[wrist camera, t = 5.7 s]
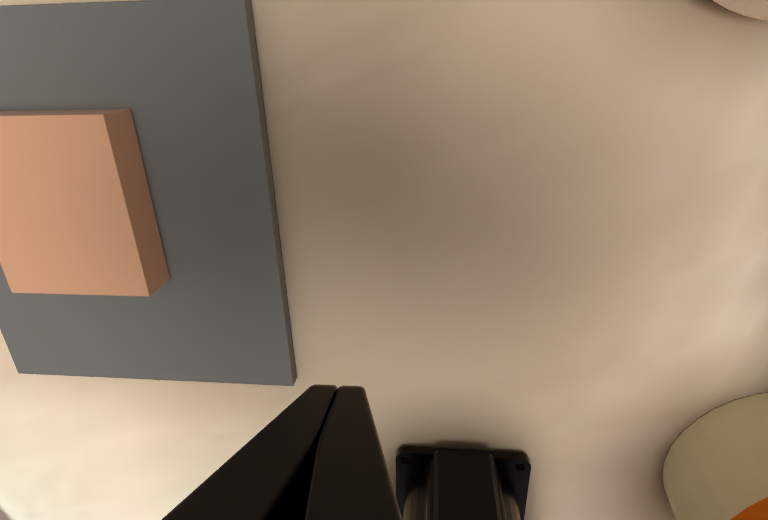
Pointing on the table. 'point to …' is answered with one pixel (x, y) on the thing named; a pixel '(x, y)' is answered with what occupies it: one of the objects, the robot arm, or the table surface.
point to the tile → (76, 205)
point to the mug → (747, 7)
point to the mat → (161, 191)
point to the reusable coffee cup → (721, 464)
